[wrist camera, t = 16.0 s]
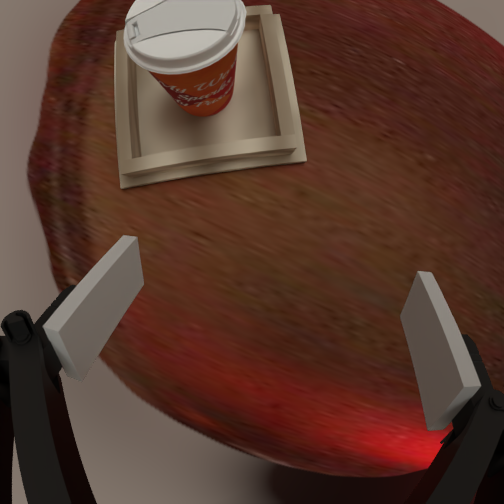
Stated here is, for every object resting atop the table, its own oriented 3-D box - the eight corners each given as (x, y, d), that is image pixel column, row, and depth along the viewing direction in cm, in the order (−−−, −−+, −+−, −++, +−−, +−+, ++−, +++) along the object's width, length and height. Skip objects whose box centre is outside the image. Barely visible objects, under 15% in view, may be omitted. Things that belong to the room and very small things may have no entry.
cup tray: (278, 18, 28) (282, -1, 24) (304, 162, 30) (313, 155, 26) (117, 45, 28) (105, 29, 24) (124, 188, 30) (108, 186, 26)
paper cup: (178, 138, 29) (129, 85, 15) (157, 73, 28) (109, -3, 14) (256, 112, 29) (266, 40, 15) (231, 48, 28) (225, -42, 14)
